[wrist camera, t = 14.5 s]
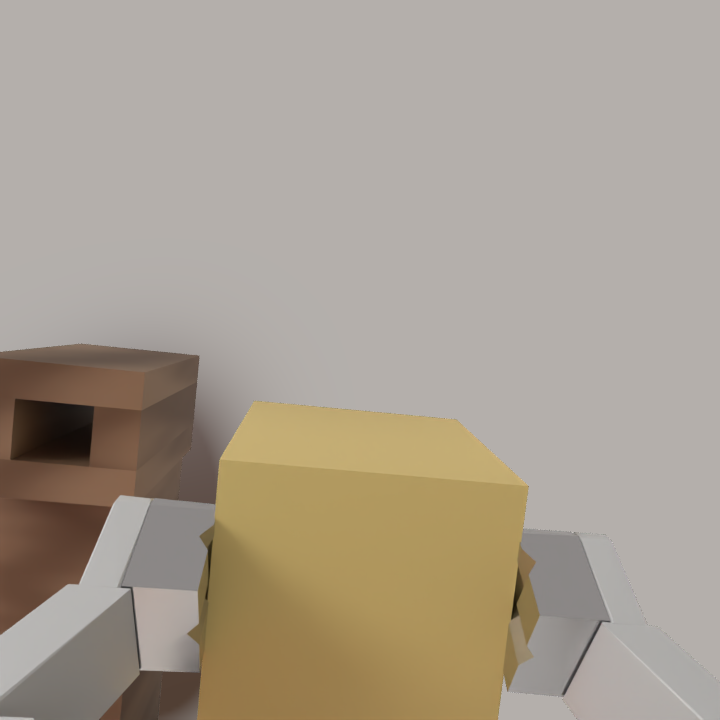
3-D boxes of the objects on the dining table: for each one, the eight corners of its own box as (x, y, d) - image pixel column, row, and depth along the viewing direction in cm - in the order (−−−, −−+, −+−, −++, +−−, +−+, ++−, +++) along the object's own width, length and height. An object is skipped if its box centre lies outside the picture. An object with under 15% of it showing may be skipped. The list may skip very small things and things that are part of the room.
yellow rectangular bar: (193, 755, 10) (219, 459, 9) (273, 460, 26) (283, 351, 26) (490, 771, 10) (528, 486, 9) (382, 469, 27) (394, 362, 26)
